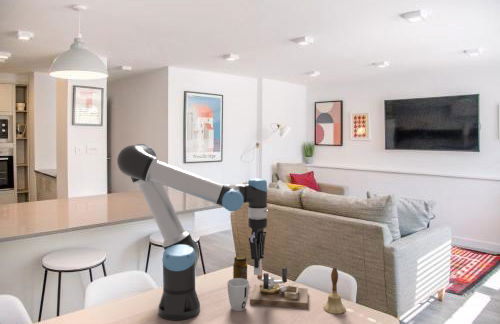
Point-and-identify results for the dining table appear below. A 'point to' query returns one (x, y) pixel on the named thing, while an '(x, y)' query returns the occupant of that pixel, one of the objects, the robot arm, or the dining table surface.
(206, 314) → the dining table surface
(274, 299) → the stand
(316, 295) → the dining table surface
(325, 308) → the hand bell
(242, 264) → the condiment
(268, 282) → the capstan
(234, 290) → the cup
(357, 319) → the dining table surface
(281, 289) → the ball
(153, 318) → the dining table surface
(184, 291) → the robot arm
